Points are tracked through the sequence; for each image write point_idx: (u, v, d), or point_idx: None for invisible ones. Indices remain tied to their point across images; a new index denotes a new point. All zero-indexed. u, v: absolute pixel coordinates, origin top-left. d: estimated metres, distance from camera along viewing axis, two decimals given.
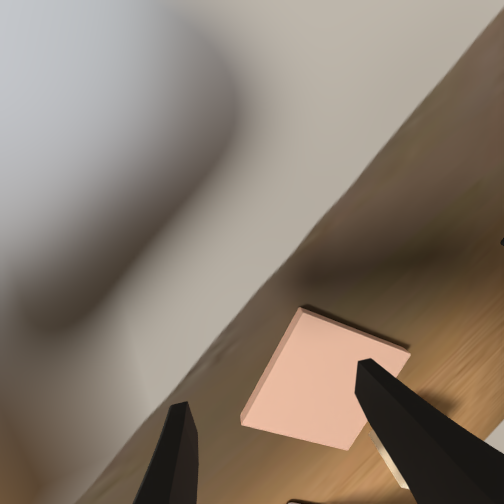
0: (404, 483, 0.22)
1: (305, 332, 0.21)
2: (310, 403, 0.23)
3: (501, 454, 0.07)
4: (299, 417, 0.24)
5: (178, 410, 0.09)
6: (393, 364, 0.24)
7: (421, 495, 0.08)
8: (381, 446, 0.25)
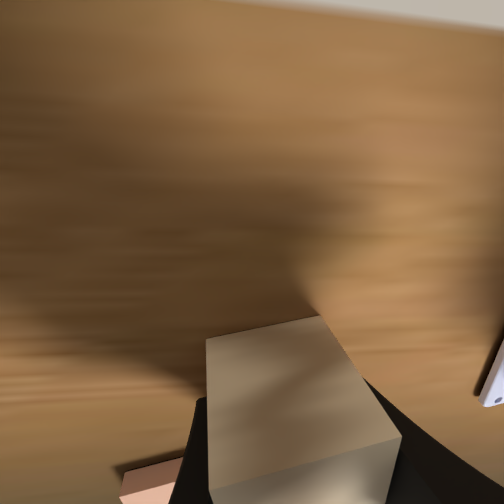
0: None
1: None
2: None
3: (466, 465, 0.06)
4: None
5: (206, 404, 0.09)
6: (159, 498, 0.13)
7: None
8: None
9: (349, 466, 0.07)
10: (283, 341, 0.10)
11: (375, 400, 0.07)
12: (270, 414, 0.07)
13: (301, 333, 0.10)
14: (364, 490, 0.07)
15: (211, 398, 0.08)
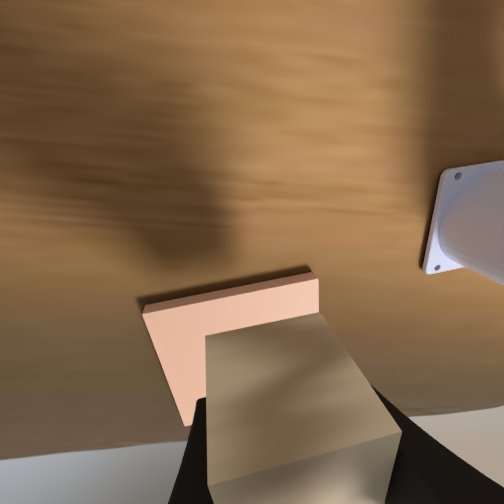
0: None
1: None
2: None
3: (466, 465, 0.06)
4: None
5: None
6: (171, 322, 0.17)
7: None
8: None
9: (348, 461, 0.07)
10: (283, 337, 0.10)
11: (375, 395, 0.07)
12: (269, 410, 0.07)
13: (301, 330, 0.10)
14: (364, 486, 0.07)
15: (210, 394, 0.08)
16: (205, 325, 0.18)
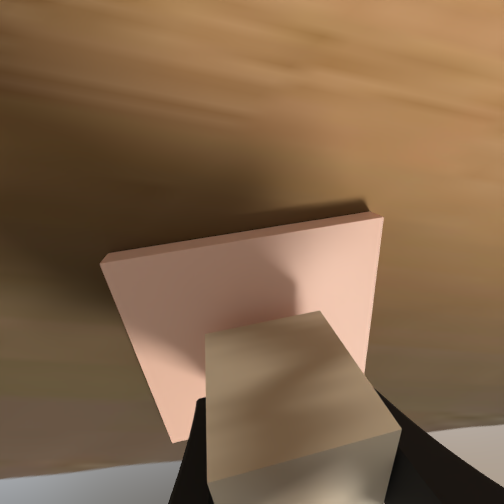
0: None
1: None
2: None
3: (466, 465, 0.06)
4: None
5: None
6: (149, 281, 0.10)
7: None
8: None
9: (348, 459, 0.07)
10: (282, 336, 0.10)
11: (374, 393, 0.07)
12: (269, 408, 0.07)
13: (300, 328, 0.10)
14: (363, 484, 0.07)
15: (209, 391, 0.08)
16: (204, 288, 0.11)
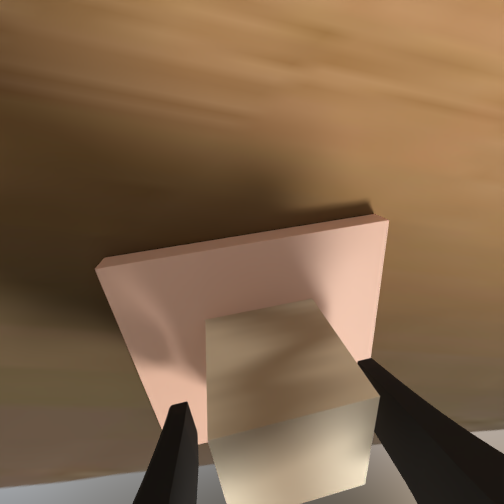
0: (353, 486, 0.09)
1: None
2: None
3: (501, 454, 0.07)
4: None
5: (178, 410, 0.09)
6: (147, 286, 0.10)
7: (421, 495, 0.08)
8: None
9: (332, 423, 0.07)
10: (277, 321, 0.11)
11: (358, 368, 0.08)
12: (263, 381, 0.08)
13: (293, 314, 0.11)
14: (348, 449, 0.08)
15: (209, 368, 0.09)
16: (204, 294, 0.11)
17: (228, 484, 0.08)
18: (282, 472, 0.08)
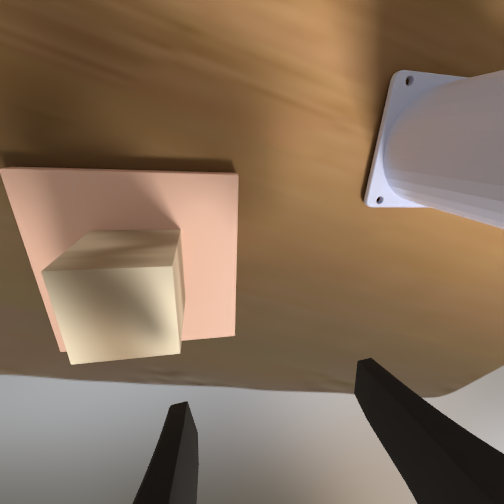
0: (170, 353, 0.13)
1: None
2: None
3: (501, 454, 0.07)
4: (202, 281, 0.17)
5: (178, 410, 0.09)
6: (42, 191, 0.13)
7: (421, 495, 0.08)
8: None
9: (139, 282, 0.11)
10: (142, 235, 0.14)
11: (173, 256, 0.12)
12: (103, 255, 0.12)
13: (158, 234, 0.14)
14: (157, 312, 0.12)
15: (71, 248, 0.12)
16: (89, 207, 0.14)
17: (62, 320, 0.11)
18: (105, 320, 0.11)
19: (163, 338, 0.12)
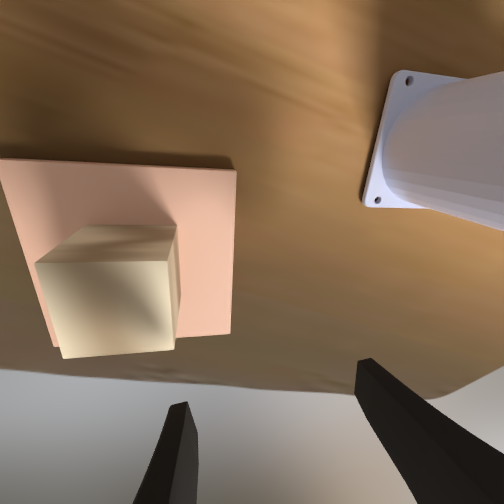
0: (164, 349, 0.13)
1: None
2: None
3: (501, 454, 0.07)
4: (198, 278, 0.17)
5: (178, 410, 0.09)
6: (37, 184, 0.13)
7: (421, 495, 0.08)
8: None
9: (133, 276, 0.11)
10: (138, 230, 0.14)
11: (168, 251, 0.12)
12: (98, 249, 0.11)
13: (154, 229, 0.14)
14: (151, 307, 0.12)
15: (65, 241, 0.12)
16: (85, 201, 0.14)
17: (54, 313, 0.11)
18: (99, 314, 0.11)
19: (157, 334, 0.12)
